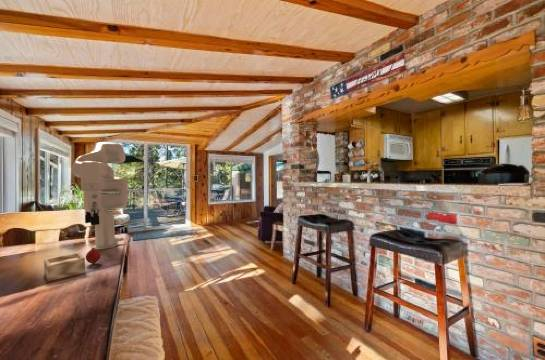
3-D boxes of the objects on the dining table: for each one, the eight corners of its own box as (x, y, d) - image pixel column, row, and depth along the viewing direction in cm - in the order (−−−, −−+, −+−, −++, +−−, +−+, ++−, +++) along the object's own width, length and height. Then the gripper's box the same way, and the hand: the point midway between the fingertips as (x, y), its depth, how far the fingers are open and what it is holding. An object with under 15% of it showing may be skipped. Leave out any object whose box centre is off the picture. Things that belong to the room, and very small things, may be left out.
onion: (83, 265, 116) (82, 248, 115) (96, 261, 121) (96, 245, 120) (89, 267, 113) (89, 249, 113) (103, 263, 118) (103, 246, 118)
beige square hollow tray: (79, 266, 115) (78, 252, 115) (85, 272, 107) (84, 258, 107) (44, 274, 106) (44, 259, 106) (48, 282, 98) (47, 265, 98)
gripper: (106, 187, 113) (107, 224, 113) (95, 187, 125) (96, 220, 125) (86, 188, 108) (87, 227, 108) (76, 187, 119) (77, 223, 119)
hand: (92, 223), depth 116 cm, fingers open, 9 cm apart
